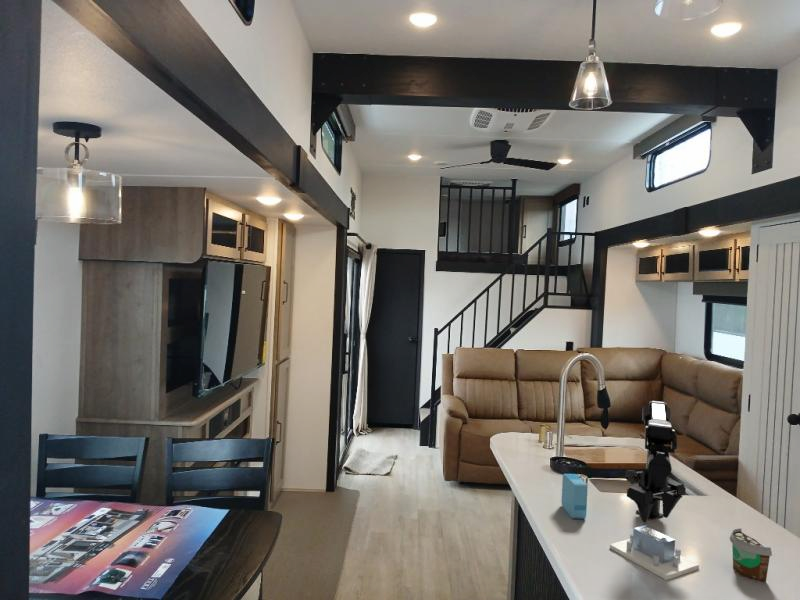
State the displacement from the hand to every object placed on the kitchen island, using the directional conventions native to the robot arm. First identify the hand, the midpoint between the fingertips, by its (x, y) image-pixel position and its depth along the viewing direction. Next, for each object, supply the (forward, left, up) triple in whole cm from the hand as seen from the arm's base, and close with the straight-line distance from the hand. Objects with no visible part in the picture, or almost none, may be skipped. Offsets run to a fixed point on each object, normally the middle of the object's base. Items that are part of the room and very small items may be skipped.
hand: (654, 519), depth 158 cm
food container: (-17, +16, -12) cm, 26 cm away
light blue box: (-2, -33, -12) cm, 35 cm away
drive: (0, 0, -10) cm, 10 cm away
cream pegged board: (0, 0, -11) cm, 11 cm away
